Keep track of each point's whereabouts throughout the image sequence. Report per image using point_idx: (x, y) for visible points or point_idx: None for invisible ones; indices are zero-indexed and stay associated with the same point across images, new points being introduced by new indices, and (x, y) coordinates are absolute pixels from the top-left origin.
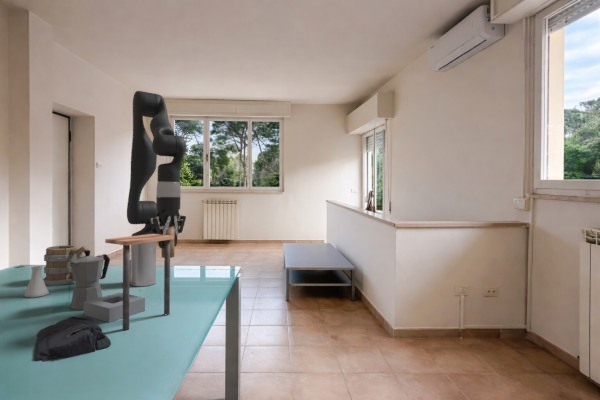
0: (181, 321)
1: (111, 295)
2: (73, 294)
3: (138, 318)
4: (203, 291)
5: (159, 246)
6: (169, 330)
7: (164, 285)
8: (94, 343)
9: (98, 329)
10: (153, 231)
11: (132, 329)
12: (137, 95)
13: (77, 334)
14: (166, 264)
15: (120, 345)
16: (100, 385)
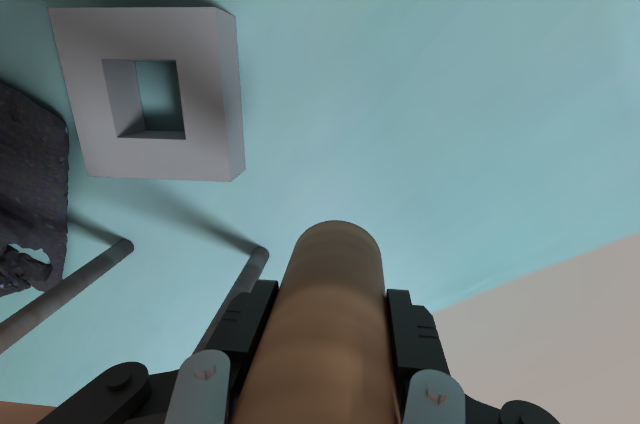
0: None
1: (165, 21)
2: None
3: (191, 209)
4: (554, 180)
5: (256, 282)
6: (190, 333)
7: (219, 308)
8: (17, 291)
9: (55, 221)
10: (72, 417)
11: (137, 259)
12: None
13: None
14: None
15: (78, 305)
16: (3, 382)
